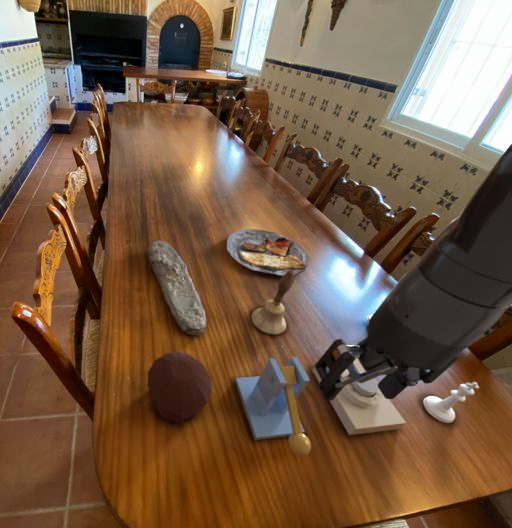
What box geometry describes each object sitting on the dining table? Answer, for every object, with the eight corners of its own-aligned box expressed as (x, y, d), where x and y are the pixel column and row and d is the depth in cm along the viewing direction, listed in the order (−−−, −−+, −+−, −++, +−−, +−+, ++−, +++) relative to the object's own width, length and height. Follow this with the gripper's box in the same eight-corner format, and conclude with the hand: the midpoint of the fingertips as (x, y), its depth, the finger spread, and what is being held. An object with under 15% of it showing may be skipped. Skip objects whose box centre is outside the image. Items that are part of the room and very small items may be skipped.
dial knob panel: (397, 429, 54) (412, 418, 52) (349, 435, 53) (361, 424, 50) (353, 366, 64) (364, 354, 62) (311, 369, 63) (320, 357, 60)
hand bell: (254, 304, 77) (273, 255, 67) (287, 315, 74) (312, 267, 64) (248, 326, 71) (267, 277, 61) (283, 340, 68) (309, 290, 58)
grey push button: (378, 396, 55) (383, 391, 54) (359, 398, 54) (363, 393, 53) (364, 376, 58) (368, 371, 57) (345, 377, 57) (350, 373, 56)
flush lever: (305, 451, 47) (318, 457, 44) (286, 454, 47) (298, 459, 44) (287, 365, 51) (297, 365, 48) (270, 367, 51) (279, 366, 48)
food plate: (299, 241, 102) (302, 232, 99) (313, 287, 84) (318, 277, 81) (226, 230, 104) (228, 221, 102) (224, 271, 86) (226, 262, 84)
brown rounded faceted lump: (137, 382, 58) (138, 352, 52) (186, 363, 62) (193, 333, 56) (162, 443, 50) (166, 416, 44) (217, 417, 54) (228, 389, 48)
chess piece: (457, 426, 55) (500, 401, 49) (428, 417, 57) (465, 391, 50) (447, 402, 59) (485, 375, 53) (419, 393, 60) (453, 366, 54)
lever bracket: (302, 434, 53) (333, 399, 45) (254, 440, 51) (277, 405, 43) (276, 377, 61) (298, 339, 53) (234, 381, 60) (250, 342, 52)
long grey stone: (174, 344, 67) (214, 337, 70) (178, 330, 64) (219, 323, 67) (140, 248, 92) (170, 245, 94) (142, 234, 88) (173, 232, 91)
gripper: (388, 345, 26) (317, 423, 37) (531, 343, 28) (423, 420, 38) (344, 286, 32) (293, 368, 42) (463, 287, 33) (385, 367, 44)
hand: (354, 393), depth 40 cm, fingers open, 8 cm apart
